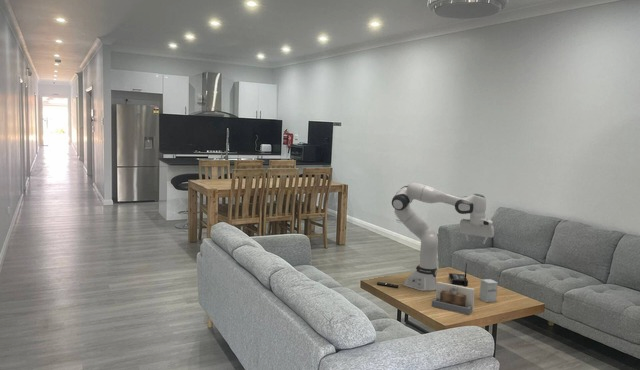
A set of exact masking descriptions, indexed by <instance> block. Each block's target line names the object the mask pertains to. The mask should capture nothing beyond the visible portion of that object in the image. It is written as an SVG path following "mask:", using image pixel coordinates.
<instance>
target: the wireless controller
mask: <svg viewBox="0 0 640 370" xmlns="http://www.w3.org/2000/svg"><path fill="white" fill-rule="evenodd" d="M467 265H468V263H466V262H465V270H464V274H463V273H452V272H451V273H450V272H449V273H448V279H449V281H450V284H453V285H458V286H463V287H468V285H469V281H468V279H467Z"/></svg>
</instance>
